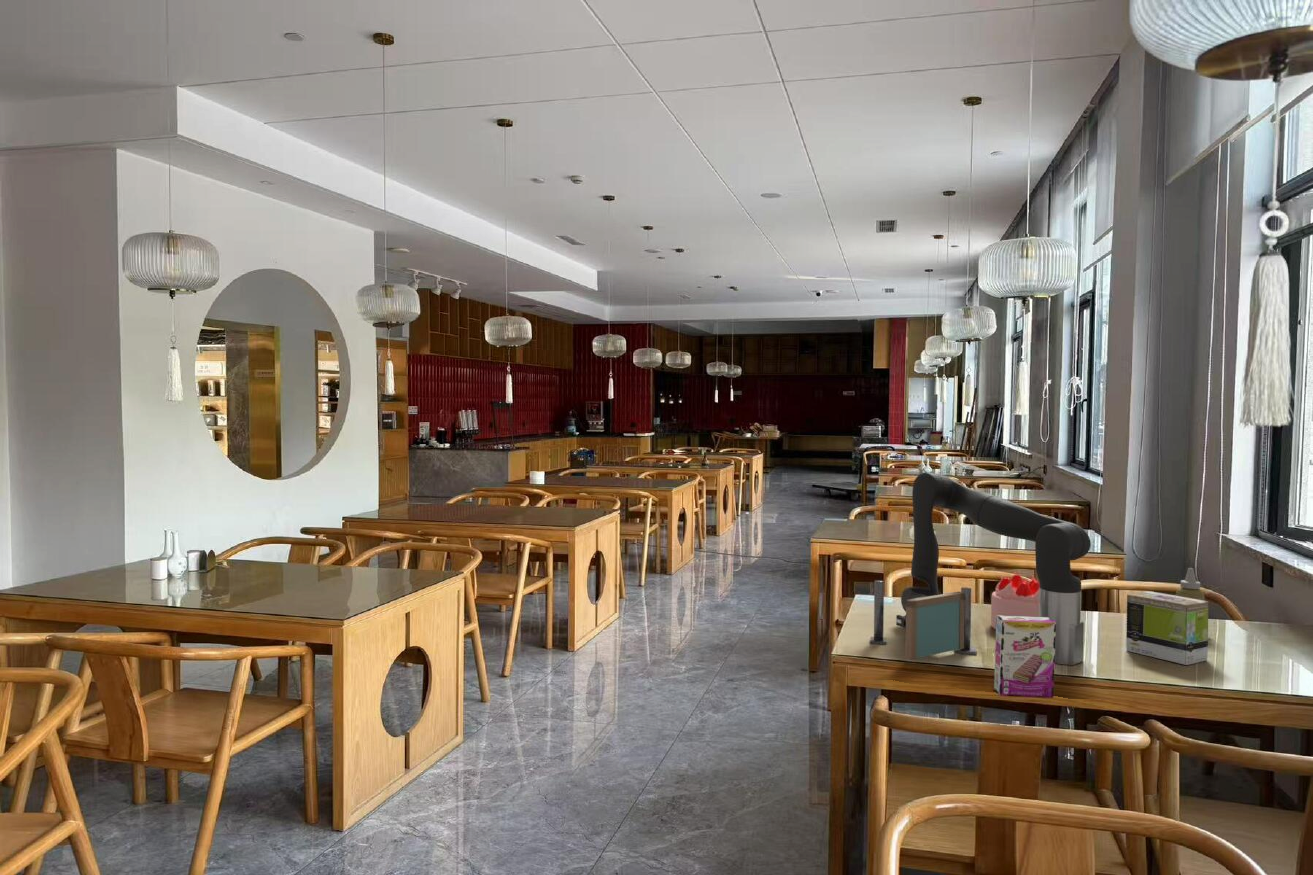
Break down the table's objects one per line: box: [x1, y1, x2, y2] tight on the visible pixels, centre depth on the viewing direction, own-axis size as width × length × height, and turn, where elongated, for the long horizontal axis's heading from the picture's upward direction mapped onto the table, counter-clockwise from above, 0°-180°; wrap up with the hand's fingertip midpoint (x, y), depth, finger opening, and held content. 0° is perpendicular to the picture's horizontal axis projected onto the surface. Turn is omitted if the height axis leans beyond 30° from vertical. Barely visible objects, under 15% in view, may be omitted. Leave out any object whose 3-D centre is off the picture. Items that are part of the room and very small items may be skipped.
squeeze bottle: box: [1175, 567, 1206, 601], centre depth 234 cm, size 8×8×18 cm
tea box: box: [1125, 590, 1209, 666], centre depth 213 cm, size 15×10×15 cm
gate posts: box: [869, 579, 978, 656], centre depth 220 cm, size 26×7×16 cm, turn 74°
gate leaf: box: [904, 591, 965, 661], centre depth 210 cm, size 19×2×14 cm, turn 122°
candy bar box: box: [993, 615, 1056, 699], centre depth 183 cm, size 11×5×16 cm, turn 84°
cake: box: [990, 574, 1039, 630], centre depth 238 cm, size 20×20×14 cm
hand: (921, 630), depth 209 cm, fingers closed
